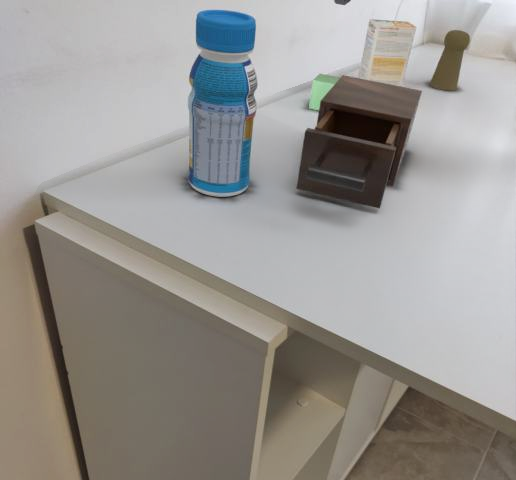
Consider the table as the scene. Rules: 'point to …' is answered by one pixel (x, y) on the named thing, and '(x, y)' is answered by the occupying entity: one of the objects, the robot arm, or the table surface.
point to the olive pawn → (450, 61)
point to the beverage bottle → (222, 103)
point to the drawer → (348, 157)
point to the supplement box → (387, 51)
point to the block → (321, 89)
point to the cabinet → (376, 108)
